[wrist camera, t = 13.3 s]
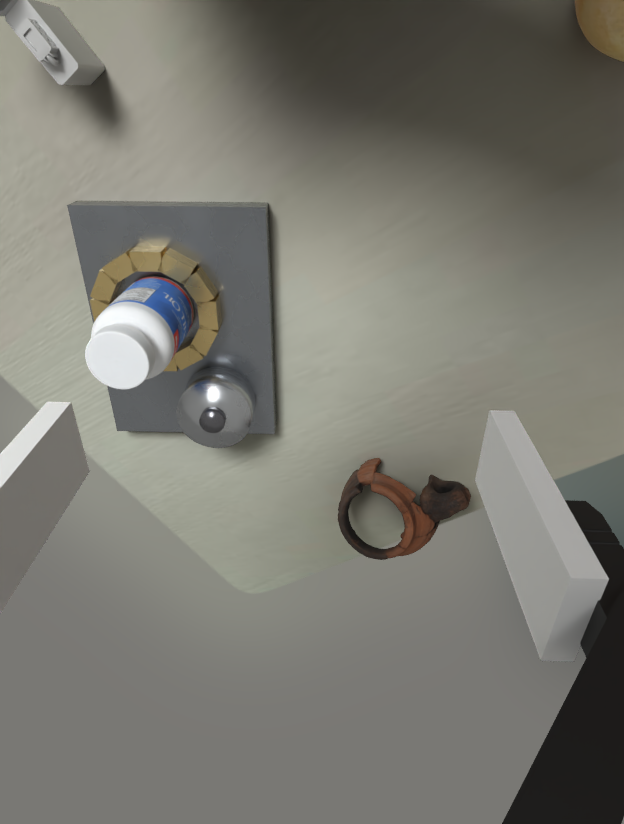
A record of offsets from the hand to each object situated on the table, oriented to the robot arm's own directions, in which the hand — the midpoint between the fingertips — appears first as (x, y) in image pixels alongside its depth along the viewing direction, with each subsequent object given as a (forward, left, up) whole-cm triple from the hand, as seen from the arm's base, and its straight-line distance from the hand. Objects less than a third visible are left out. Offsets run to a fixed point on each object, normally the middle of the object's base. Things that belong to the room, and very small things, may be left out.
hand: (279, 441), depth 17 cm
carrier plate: (+7, -10, -27) cm, 29 cm away
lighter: (-13, -16, -27) cm, 34 cm away
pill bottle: (+5, -12, -25) cm, 28 cm away
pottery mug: (+23, +9, -27) cm, 37 cm away
